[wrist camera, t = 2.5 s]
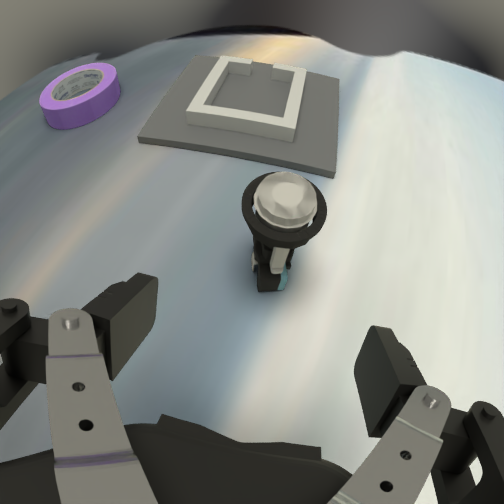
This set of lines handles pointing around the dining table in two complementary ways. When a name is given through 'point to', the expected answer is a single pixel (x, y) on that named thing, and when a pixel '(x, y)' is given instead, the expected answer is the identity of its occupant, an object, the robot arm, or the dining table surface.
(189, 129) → the plate
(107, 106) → the masking tape
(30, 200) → the dining table surface
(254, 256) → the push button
